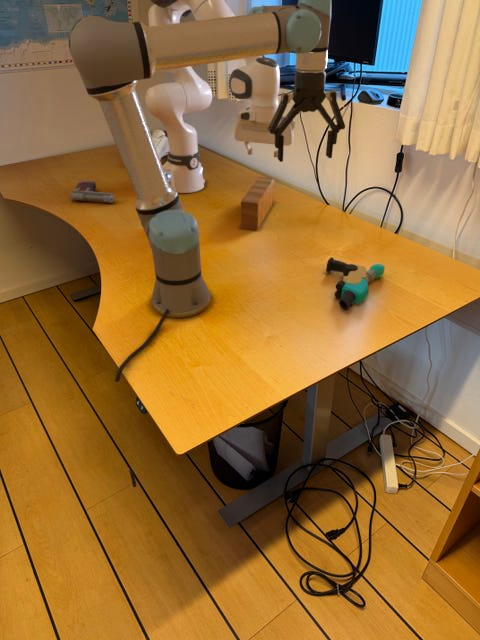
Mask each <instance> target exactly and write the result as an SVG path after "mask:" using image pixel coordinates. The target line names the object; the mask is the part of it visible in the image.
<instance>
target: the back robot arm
mask: <svg viewBox="0 0 480 640" xmlns="http://www.w3.org/2000/svg"><path fill="white" fill-rule="evenodd" d="M150 2H151V3H152V4H153V5H151V7H150V8H149V9H148V12H147V13H148V16H147V17H148V27H151V26H160V25H168V24H176V23H181V21H180V20H181V17H183V18H186V17H188V16H189V15H190V14H192V15H193V17H194V19H195V21H201V20H209V19H217V18H225V17H233V16H236V15H235V13H234V12H233V11H232V10H231V8H230V7H229V5H228V4H227V2H226V0H150ZM243 59H244V61H245V63H246V64H247V65H243V66H240V67H238V68H235V69H234V70H232V72H231V73H230V76H229V78H228V86H229V90H230V93H231V95H232V96H233V97H234V98H236V99H238V100H243V101H244V100H250V101H251V106H249V107H245V108H242V109H240V111H238V113H237V119H238V120H237V121H236V123H235V126H234V139H235V140H236V141H237V142H244V146H245V148H246V150H247V155H248V156H249V155H250V156H251V155H253V154H254V148H251V146H250V144H251V143H254V144H255V143H257V144H264V145H265V144H267V145H275V135H274V134H271V133H270V132H269V131H268V127H269V125H270V123H271V121H272V119H273V117H274V115H275V112H276V110H277V108H278V106H279V104H280V102H279V93H280V85H281V74H280V73H281V71H280V65H279V63H278V62H277V61H276V60H275V59H273V58H270V57H266V55H263V56H257V57H250V58H243ZM163 72H165V73H168V74H169V75H170V76H171V77H172V79H173V82H171V81H170V82H164V83H159V84H156V85H154V86H151V87H149V88H147V91H146V94H145V100H144V101H145V106H146V108H147V110H148V111H149V113H150V114H151V115H152V116H153V117H155V118H157V120H159V121H160V123H161V124H162V125H163V127H164V129H165V131H166V132H167V136H168V142H169V150H170V152H166V153H169V154H167V155H165V163H164V164H163V165H162V167H163V170H164V173H165V176H166V179H167V182H168V184H169V186H171V187H173V188H175V189H176V190H177V192H178V194H189V193H196V192H198V191H201V190H203V189H204V188H205V183H206V179H205V178H204V175H203V169H204V168H203V166H202V163H201V162H200V160H201V159H200V157H201V156H200V151H199V145H198V133H197V131H196V128H195V127H194V126H193V125H190V124H188V123H187V122H184V119H183V115H187V114H192V113H198V112H201V111H204V110H206V109H208V108H210V106H211V104H212V101H213V91H212V88H211V86H210V84H209V83H208V82H207V81H205V80H204V79H202V77H200V76H199V75H198V74H197V72H196V71H195V70H194V69H193V66H189V67H183V68H176V69H169V70H163ZM285 116H286V115H284V114H283V115H282V117H281V120H280V122H279V124H280V123H281V122H282V120H283V119H284V118H285ZM279 124H278V125H279ZM277 127H278V126H277ZM295 128H296V120H295V118H294V119H293V120H292V121H291V123H290V124H289V125H288V126H287V128H286V129H285V130H284V132H283V133H282V135H283V136H284V146H286V147H289V146H291V145H292V144H293V143H294V140H295V139H294V137H295V135H294V130H295ZM152 135H153V134H151V136H152ZM273 158H276V159H278V150H274V152H273Z"/></svg>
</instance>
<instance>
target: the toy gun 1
mask: <svg viewBox="0 0 480 640" xmlns="http://www.w3.org/2000/svg"><path fill="white" fill-rule="evenodd" d="M96 190H97V183H96V181H94V180H85V181H80V182H78V183H77V184H76V186H75V189H74V190H72V191H71V194H70V196H69V198H71V200H72V201H80V202H81V201H82V202H93V203H107V204H113V203H114V199H115V195H114V193H111V192H106V191H105V192H104V191H102V192H101V191H96Z"/></svg>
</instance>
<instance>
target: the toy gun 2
mask: <svg viewBox="0 0 480 640" xmlns="http://www.w3.org/2000/svg"><path fill="white" fill-rule="evenodd" d="M325 269H326V270H325V271H326V273H331V271H333V272H338V273H341V274H342V278H341V279H340V280H339V281H338V282H337V283H336V285H335V290H336V291H335V292H334V297H335V298H337V299H339V300H338V306H339V307H340V308H341V309H342V310H343V311H345V312H348V311H349V309H351V307H353V305H354V303H355V304H361V303H362V302H363V301H365V300H366V299H367V296H368V295H369V283H370V282H372V281H373V280H375V279H379V278H381V277H382V276H383V275H384V272H385V269H386V268H385V265H384V264H382V263H374V264H372V265H371V266H370V267H369V269H366V267H365V266H364V265H359V264H353V263H347V262H343V261H341V260H338V259H334V257H329V259H328V260H327V261H326V268H325Z"/></svg>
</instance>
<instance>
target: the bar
mask: <svg viewBox="0 0 480 640" xmlns="http://www.w3.org/2000/svg"><path fill="white" fill-rule="evenodd" d="M274 183H275V178H274V177H264V176H258V177H257V179H255V181H254V183H253V184H252V185H251V186H250V189H249V190H248V191H247V192H246V194H245V195H244V197H243V198H242V200H241V202H240V222H241V223H240V229H243V230H254V231H258V230H259V229H260V227H261V225H262V223H263V222H264V220H265V219H266V216H267V214H268V213H269V210H270V209H271V207H272V206H273V204H274V185H275V184H274Z"/></svg>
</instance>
